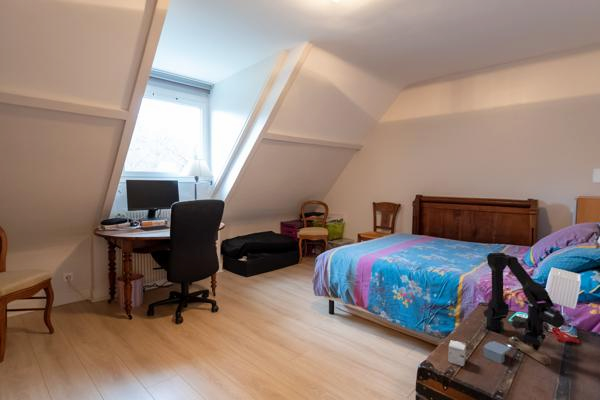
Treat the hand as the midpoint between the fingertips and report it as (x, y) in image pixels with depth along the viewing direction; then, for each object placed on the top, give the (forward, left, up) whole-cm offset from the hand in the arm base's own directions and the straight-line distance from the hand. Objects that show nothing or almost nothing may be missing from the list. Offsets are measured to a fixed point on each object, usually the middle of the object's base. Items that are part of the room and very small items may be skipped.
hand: (535, 350), depth 137 cm
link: (-2, -2, -1) cm, 3 cm away
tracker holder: (+2, +27, -2) cm, 27 cm away
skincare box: (-17, -32, -2) cm, 36 cm away
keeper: (-9, -15, -2) cm, 17 cm away
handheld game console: (-18, +34, -2) cm, 38 cm away
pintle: (-9, +1, -2) cm, 9 cm away
